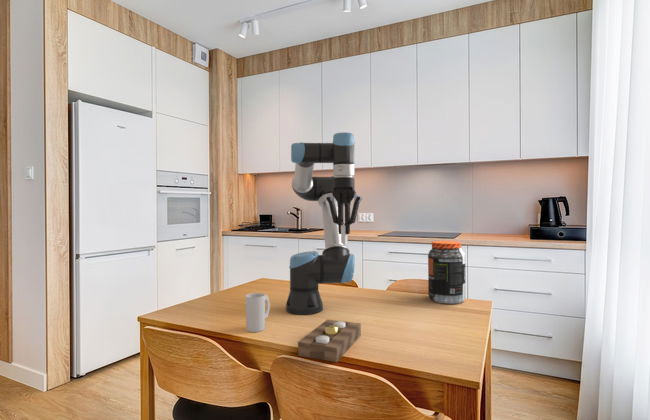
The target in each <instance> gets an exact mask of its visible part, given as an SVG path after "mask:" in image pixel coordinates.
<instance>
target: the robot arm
mask: <svg viewBox="0 0 650 420" xmlns="http://www.w3.org/2000/svg"><path fill="white" fill-rule="evenodd" d="M355 144H356V143H355V135H354V134H353V133H351V132H345V131H344V132H337V133H334V134H333V136H332V142H301V141H300V142H293V143H291V146H290V147H291V148H290V161H291V163H293V164H295V168H294V176H293V178H292V180H291V188H292V191H293V192H294V193H295V194H296V195H297V197H299V198H301V199H302V200H305V201H309V202H317V204H318V205H319V207H321V212H322V225H323V235H324V236H323V238H324V247H325V248H324V249H323V250H322V253H321V254H320V253H319V252H318V251H314V250H312V251H310V250H309V251H303V252H298V253H295V254H293V255H291V256H290V259H289V293H288V297H287V300H286V304H285V311H286V312H287V313H289V314H293V315H313V314H317V313H320V312H322V311H323V309H324V304H323V303H324V302H323V301H322V300H323V299H322V297H321V294H320V291H319V285H320V284H345V283H346V284H347V283H350V282H352V280H353V279H354V272H355V254H353V253H350V249H349V248H348V247H347V246H346V244H348V238H349V237H348V235H350V233H351V227H350V226H351V225H353V224H355V223H356V219H357V215H358V211H359V207H360V202H361V201H362V199H363V197H362V196H359V195H358V194H357V192H356V189H355V183H356V182H355V177H354V176H355ZM315 164H332V165H333V169H332V170H333V171H332V172H333V175H331V176H313V175H314V174H313V173H314V168H315ZM353 200H354V202H353V206H352V205H351V202H352V201H353ZM351 206H352V210H351Z"/></svg>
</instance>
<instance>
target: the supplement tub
mask: <svg viewBox="0 0 650 420" xmlns="http://www.w3.org/2000/svg"><path fill="white" fill-rule="evenodd" d="M427 260H428V261H427V267H428V268H427V269H428V271H427V273H428V275H427V276H428V278H427V279H428V282H427V283H428V286H427V287H428V298H429V299H430V300H431V301H433V302H435V303H440V304H451V305H453V304H461V303H464V302H465V301H466V294H467V293H466V290H467V289H466V254H465V252H464V251H463V248H462V242H461V241H459V240H457V241H455V240H435V241H434V240H433V241H432V242H431V249H430V250H429V252H428V255H427Z"/></svg>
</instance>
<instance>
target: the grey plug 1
mask: <svg viewBox="0 0 650 420" xmlns="http://www.w3.org/2000/svg"><path fill="white" fill-rule="evenodd" d="M316 342H318V343H324V344H327V343H328V342H329V337H328V336H324V335H321V336H317V337H316Z"/></svg>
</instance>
